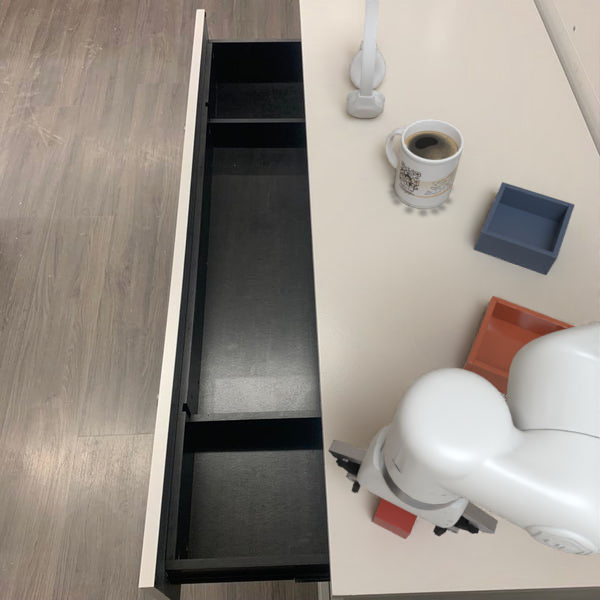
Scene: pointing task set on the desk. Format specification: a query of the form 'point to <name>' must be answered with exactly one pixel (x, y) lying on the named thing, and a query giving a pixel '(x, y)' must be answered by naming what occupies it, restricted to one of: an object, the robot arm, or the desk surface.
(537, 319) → the terracotta bin
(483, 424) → the robot arm
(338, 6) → the desk surface
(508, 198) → the slate bin
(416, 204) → the mug
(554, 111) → the desk surface
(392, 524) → the red block
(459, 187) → the desk surface
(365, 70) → the headphones
